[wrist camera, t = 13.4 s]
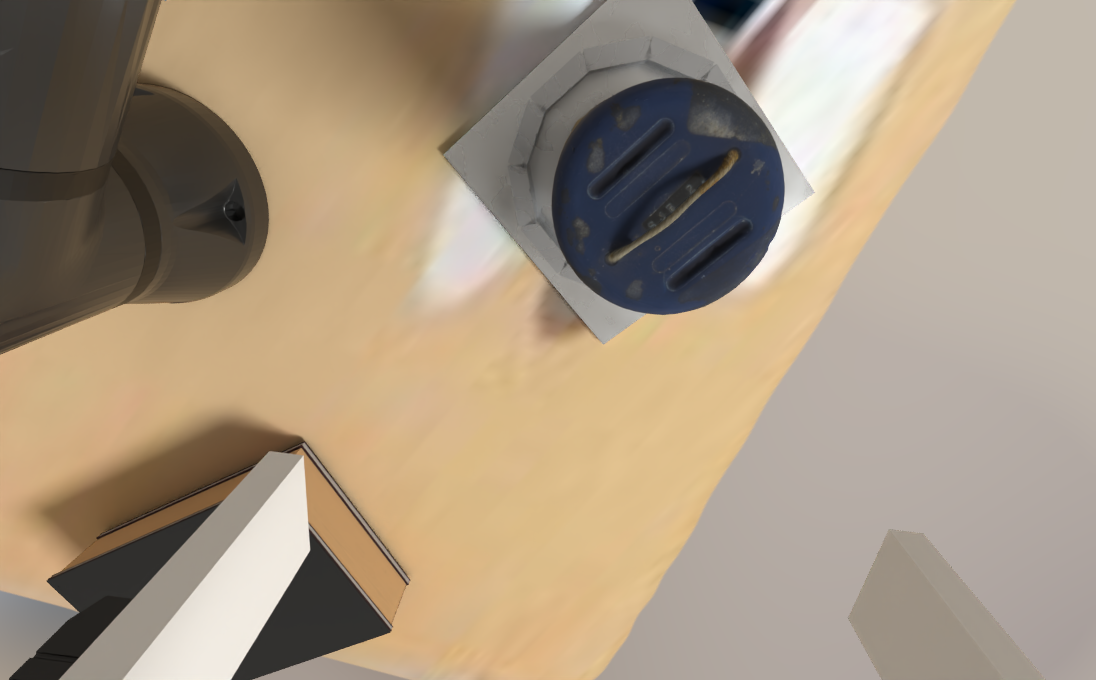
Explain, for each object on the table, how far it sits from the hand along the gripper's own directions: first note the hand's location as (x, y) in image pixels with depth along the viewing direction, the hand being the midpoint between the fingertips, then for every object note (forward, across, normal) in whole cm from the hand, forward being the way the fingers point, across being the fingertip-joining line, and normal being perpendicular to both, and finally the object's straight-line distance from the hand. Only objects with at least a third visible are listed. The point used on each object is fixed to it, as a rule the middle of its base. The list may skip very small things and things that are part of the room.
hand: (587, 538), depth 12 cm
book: (+30, -27, -34) cm, 53 cm away
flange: (+29, +3, +6) cm, 30 cm away
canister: (+29, +3, +6) cm, 30 cm away
